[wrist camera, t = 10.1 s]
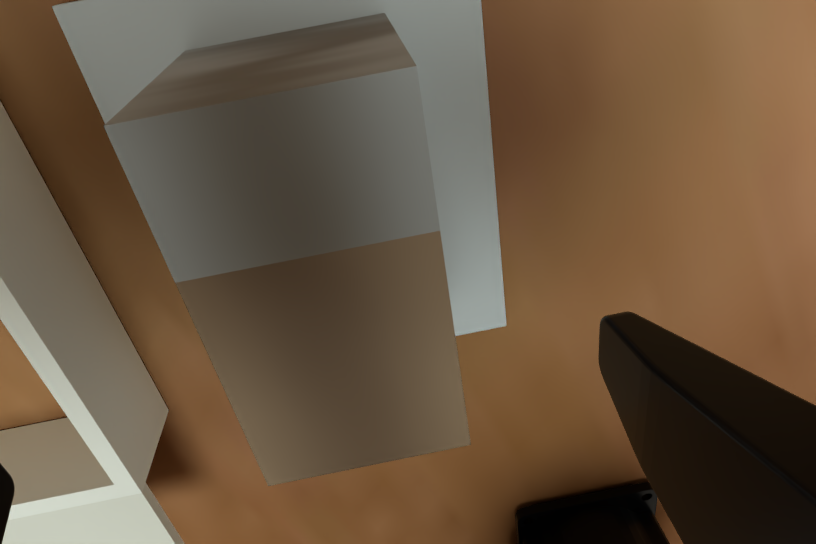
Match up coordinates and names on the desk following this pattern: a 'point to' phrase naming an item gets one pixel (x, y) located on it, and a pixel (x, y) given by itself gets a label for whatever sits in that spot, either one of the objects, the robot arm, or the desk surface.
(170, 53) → the mat
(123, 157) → the box
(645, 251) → the desk surface
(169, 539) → the white shallow rectangular tray
